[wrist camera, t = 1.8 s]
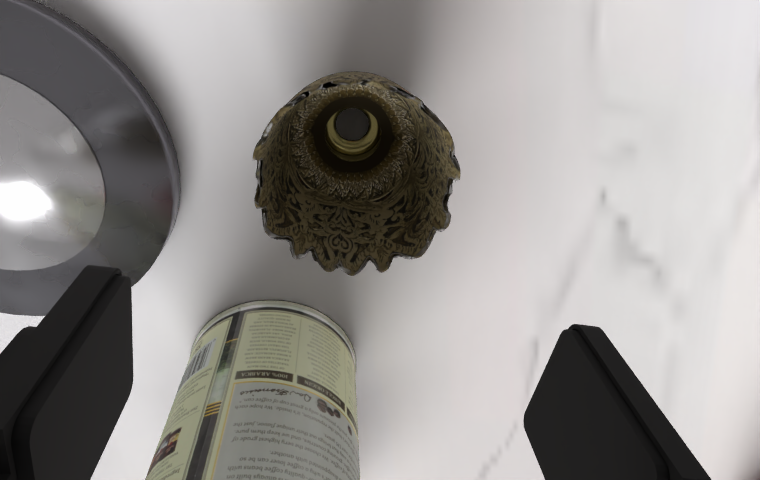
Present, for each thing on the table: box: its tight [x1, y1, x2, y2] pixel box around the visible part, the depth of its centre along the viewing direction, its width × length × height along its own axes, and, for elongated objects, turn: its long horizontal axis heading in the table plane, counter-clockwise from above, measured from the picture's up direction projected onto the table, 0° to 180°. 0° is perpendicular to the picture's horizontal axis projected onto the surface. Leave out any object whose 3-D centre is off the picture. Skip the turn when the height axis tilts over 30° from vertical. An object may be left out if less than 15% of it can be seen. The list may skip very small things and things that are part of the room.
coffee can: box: [145, 300, 360, 480], centre depth 26 cm, size 10×10×14 cm
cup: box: [253, 72, 460, 276], centre depth 22 cm, size 8×7×8 cm
